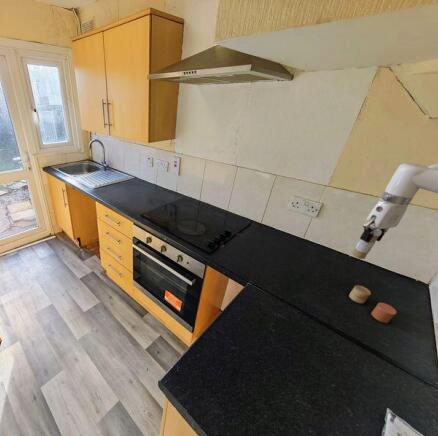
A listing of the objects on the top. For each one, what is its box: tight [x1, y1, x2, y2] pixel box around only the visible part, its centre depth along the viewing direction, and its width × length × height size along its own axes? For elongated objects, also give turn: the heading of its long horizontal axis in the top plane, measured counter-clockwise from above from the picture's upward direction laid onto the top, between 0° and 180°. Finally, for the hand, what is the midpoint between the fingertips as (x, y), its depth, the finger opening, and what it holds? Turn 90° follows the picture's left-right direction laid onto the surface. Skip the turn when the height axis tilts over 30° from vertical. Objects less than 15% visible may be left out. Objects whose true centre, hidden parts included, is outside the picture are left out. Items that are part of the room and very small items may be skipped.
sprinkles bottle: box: [351, 227, 382, 260], centre depth 92 cm, size 5×5×14 cm
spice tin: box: [348, 284, 372, 304], centre depth 93 cm, size 5×5×5 cm
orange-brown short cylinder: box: [370, 302, 397, 324], centre depth 85 cm, size 5×5×5 cm
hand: (369, 239), depth 90 cm, fingers closed on sprinkles bottle, 4 cm apart
